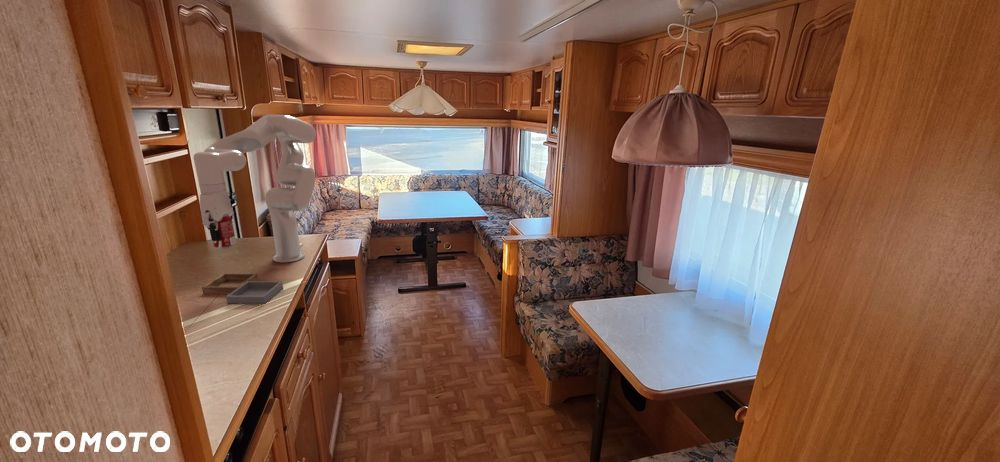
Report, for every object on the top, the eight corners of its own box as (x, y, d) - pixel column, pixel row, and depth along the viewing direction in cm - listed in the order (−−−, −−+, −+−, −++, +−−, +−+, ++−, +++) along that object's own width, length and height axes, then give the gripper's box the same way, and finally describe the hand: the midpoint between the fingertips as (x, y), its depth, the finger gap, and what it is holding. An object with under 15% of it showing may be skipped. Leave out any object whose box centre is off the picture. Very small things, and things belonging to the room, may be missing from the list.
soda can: (241, 243, 149) (235, 212, 146) (227, 250, 143) (220, 217, 139) (224, 242, 150) (217, 211, 146) (209, 249, 144) (202, 216, 140)
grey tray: (248, 288, 149) (247, 281, 148) (283, 288, 149) (282, 281, 148) (227, 304, 137) (226, 296, 136) (265, 304, 137) (263, 296, 136)
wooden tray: (225, 279, 156) (224, 273, 156) (258, 279, 157) (257, 273, 156) (203, 293, 144) (201, 287, 144) (239, 294, 145) (237, 287, 144)
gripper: (218, 183, 148) (227, 230, 153) (184, 193, 131) (195, 245, 137) (239, 183, 148) (247, 230, 153) (207, 193, 131) (218, 245, 137)
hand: (222, 237), depth 145 cm, fingers closed on soda can, 6 cm apart
